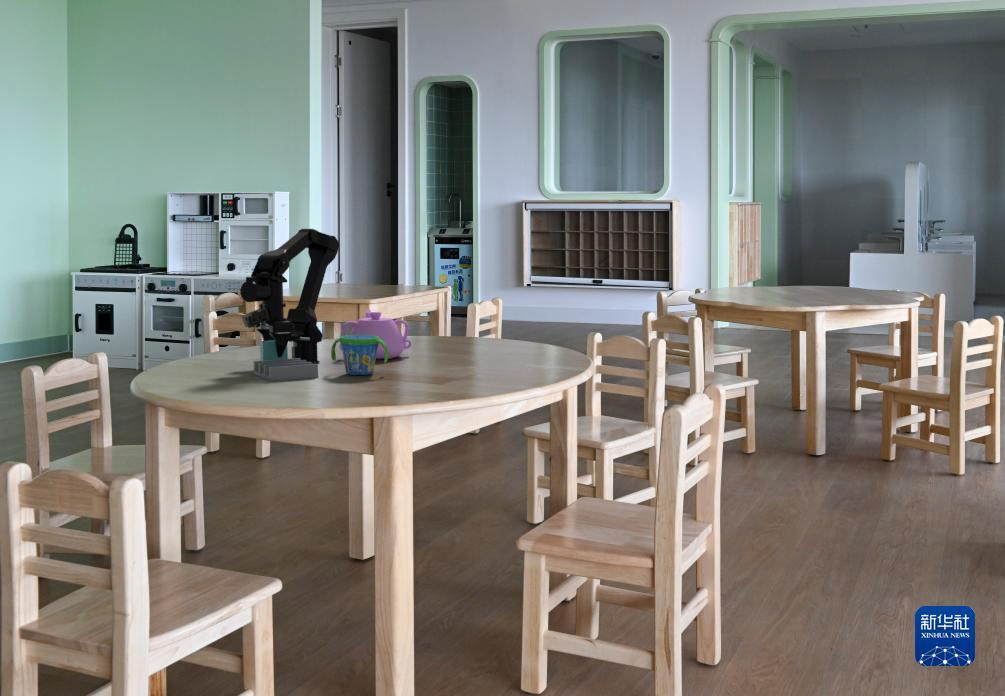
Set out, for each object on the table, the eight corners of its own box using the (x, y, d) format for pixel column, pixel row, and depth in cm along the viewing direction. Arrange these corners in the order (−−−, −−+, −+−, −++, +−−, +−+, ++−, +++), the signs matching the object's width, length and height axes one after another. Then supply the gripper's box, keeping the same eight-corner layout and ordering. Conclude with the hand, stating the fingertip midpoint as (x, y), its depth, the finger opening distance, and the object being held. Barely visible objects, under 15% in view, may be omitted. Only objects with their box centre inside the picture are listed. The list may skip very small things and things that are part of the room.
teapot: (401, 351, 345) (401, 307, 343) (418, 359, 324) (417, 313, 323) (332, 353, 338) (331, 309, 336) (345, 362, 317) (344, 315, 316)
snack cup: (394, 372, 297) (393, 335, 296) (378, 378, 287) (378, 339, 286) (342, 370, 302) (341, 333, 301) (325, 375, 292) (324, 337, 291)
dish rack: (299, 370, 301) (299, 358, 301) (318, 377, 288) (318, 364, 288) (253, 374, 295) (253, 361, 294) (270, 381, 282) (270, 367, 282)
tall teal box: (285, 367, 307) (284, 339, 306) (287, 368, 305) (287, 340, 304) (260, 369, 304) (260, 341, 303) (263, 370, 302) (262, 341, 301)
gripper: (234, 298, 306) (236, 353, 308) (254, 303, 290) (256, 361, 292) (272, 297, 312) (274, 351, 314) (294, 301, 296) (296, 358, 297)
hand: (274, 355), depth 304 cm, fingers open, 9 cm apart
